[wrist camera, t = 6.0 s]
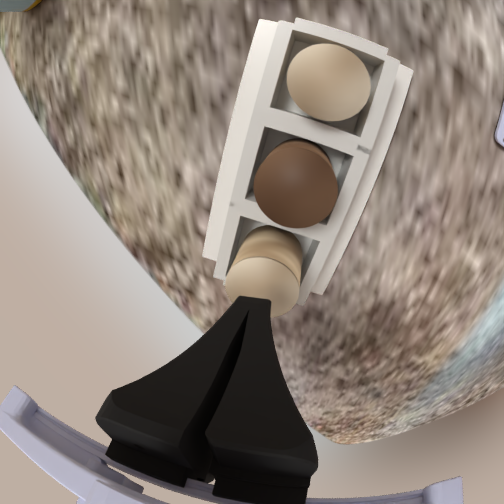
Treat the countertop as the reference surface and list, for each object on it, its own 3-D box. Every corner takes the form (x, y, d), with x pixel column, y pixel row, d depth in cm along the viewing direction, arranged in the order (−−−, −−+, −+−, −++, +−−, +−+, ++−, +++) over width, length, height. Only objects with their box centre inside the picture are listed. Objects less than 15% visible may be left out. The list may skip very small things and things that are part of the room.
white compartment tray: (409, 71, 13) (429, 66, 10) (322, 289, 22) (322, 318, 19) (261, 22, 13) (250, 5, 10) (205, 251, 23) (189, 275, 20)
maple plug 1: (311, 236, 17) (310, 272, 14) (290, 285, 19) (285, 325, 16) (249, 216, 17) (233, 248, 14) (235, 267, 19) (219, 304, 16)
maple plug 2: (364, 70, 13) (379, 61, 10) (346, 126, 15) (356, 133, 12) (301, 49, 13) (298, 33, 10) (284, 106, 15) (277, 106, 12)
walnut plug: (340, 151, 15) (350, 165, 12) (319, 209, 17) (320, 238, 14) (275, 129, 15) (265, 137, 12) (258, 189, 17) (244, 214, 14)
